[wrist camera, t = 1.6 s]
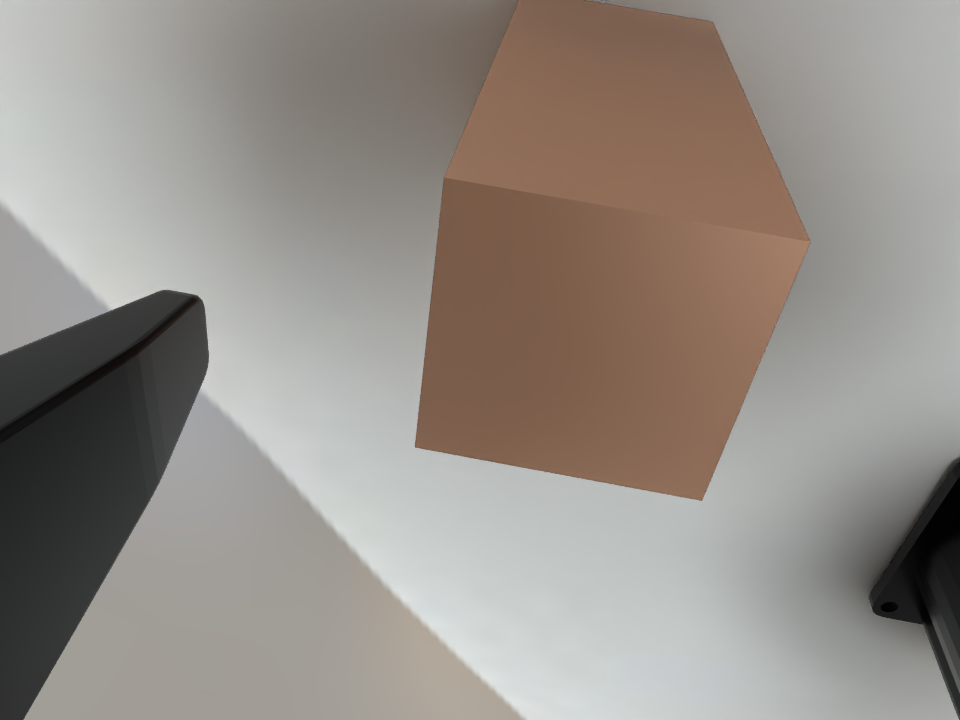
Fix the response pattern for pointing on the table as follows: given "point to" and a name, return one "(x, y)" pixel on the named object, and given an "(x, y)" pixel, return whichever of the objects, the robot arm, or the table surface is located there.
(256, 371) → the table surface
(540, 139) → the peg
